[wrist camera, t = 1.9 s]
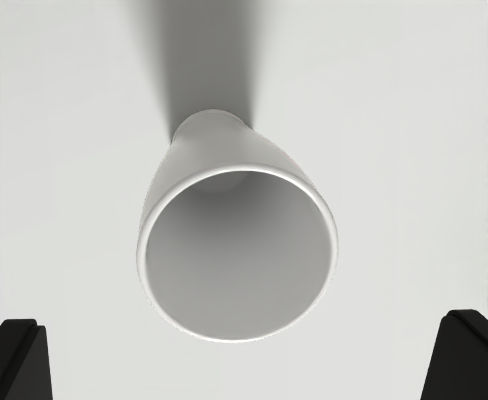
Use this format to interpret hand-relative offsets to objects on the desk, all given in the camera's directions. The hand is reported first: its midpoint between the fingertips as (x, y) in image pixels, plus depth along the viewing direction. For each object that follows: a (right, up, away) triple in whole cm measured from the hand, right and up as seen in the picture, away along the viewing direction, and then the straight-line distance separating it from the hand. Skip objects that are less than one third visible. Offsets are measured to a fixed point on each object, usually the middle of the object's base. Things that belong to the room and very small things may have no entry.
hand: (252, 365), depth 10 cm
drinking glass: (-2, +7, +18) cm, 19 cm away
